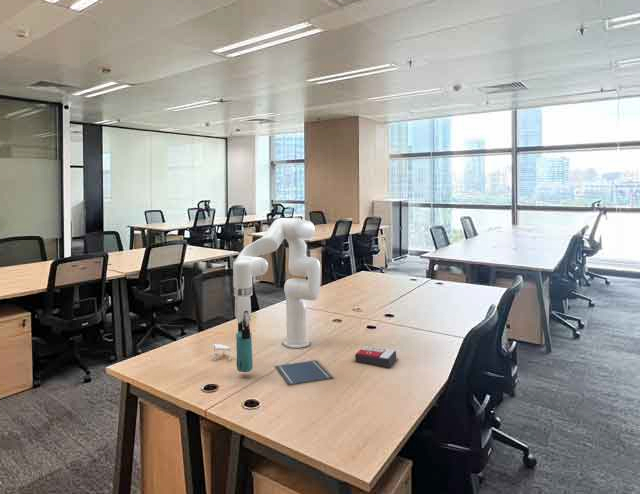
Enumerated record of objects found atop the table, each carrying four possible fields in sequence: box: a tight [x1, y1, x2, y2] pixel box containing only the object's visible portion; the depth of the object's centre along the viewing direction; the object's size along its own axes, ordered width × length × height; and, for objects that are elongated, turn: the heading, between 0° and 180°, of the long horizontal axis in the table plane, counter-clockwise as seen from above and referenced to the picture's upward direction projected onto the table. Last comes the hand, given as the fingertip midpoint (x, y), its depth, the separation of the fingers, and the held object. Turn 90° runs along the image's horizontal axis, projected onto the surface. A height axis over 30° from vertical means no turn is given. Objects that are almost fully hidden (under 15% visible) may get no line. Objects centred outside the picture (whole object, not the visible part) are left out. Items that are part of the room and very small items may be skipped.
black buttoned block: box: [354, 345, 397, 369], centre depth 186 cm, size 11×4×15 cm
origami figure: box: [211, 343, 234, 362], centre depth 189 cm, size 12×8×5 cm
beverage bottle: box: [235, 323, 254, 373], centre depth 171 cm, size 6×7×20 cm
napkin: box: [275, 360, 333, 386], centre depth 174 cm, size 18×18×1 cm
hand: (243, 335), depth 171 cm, fingers closed on beverage bottle, 6 cm apart
